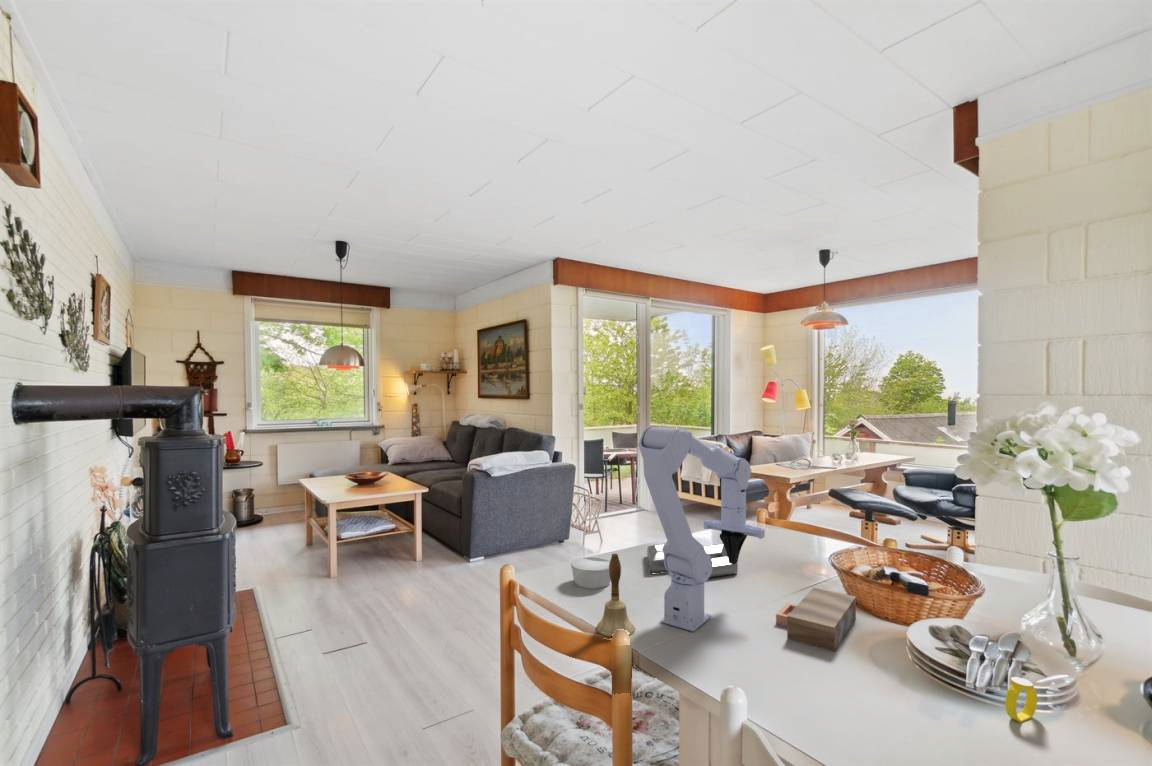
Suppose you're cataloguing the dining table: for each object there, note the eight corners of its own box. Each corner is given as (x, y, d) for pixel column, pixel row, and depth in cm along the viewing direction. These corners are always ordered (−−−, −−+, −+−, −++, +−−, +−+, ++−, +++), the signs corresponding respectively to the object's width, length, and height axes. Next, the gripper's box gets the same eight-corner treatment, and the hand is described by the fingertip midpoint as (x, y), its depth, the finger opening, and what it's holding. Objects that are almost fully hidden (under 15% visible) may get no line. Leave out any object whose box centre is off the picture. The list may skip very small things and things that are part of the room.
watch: (1021, 711, 89) (1023, 674, 90) (1041, 720, 87) (1043, 682, 87) (999, 717, 87) (1001, 679, 87) (1019, 727, 84) (1021, 688, 85)
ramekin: (614, 576, 151) (614, 557, 151) (613, 591, 140) (613, 571, 140) (573, 575, 152) (573, 555, 152) (569, 590, 141) (569, 569, 141)
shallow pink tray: (835, 638, 114) (835, 629, 114) (776, 623, 121) (776, 614, 121) (843, 625, 120) (843, 616, 120) (787, 611, 127) (787, 602, 127)
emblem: (670, 529, 180) (755, 545, 162) (670, 546, 180) (755, 563, 162) (623, 550, 157) (715, 570, 140) (623, 569, 157) (715, 591, 140)
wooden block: (834, 651, 108) (834, 627, 108) (787, 638, 114) (787, 615, 114) (855, 617, 124) (855, 596, 124) (813, 607, 130) (813, 587, 130)
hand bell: (588, 631, 117) (589, 556, 117) (608, 617, 124) (608, 546, 124) (623, 641, 113) (623, 563, 113) (641, 626, 119) (641, 552, 119)
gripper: (769, 507, 132) (769, 564, 132) (712, 499, 141) (712, 553, 141) (758, 513, 126) (758, 572, 126) (700, 504, 135) (699, 559, 135)
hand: (733, 562), depth 133 cm, fingers closed
